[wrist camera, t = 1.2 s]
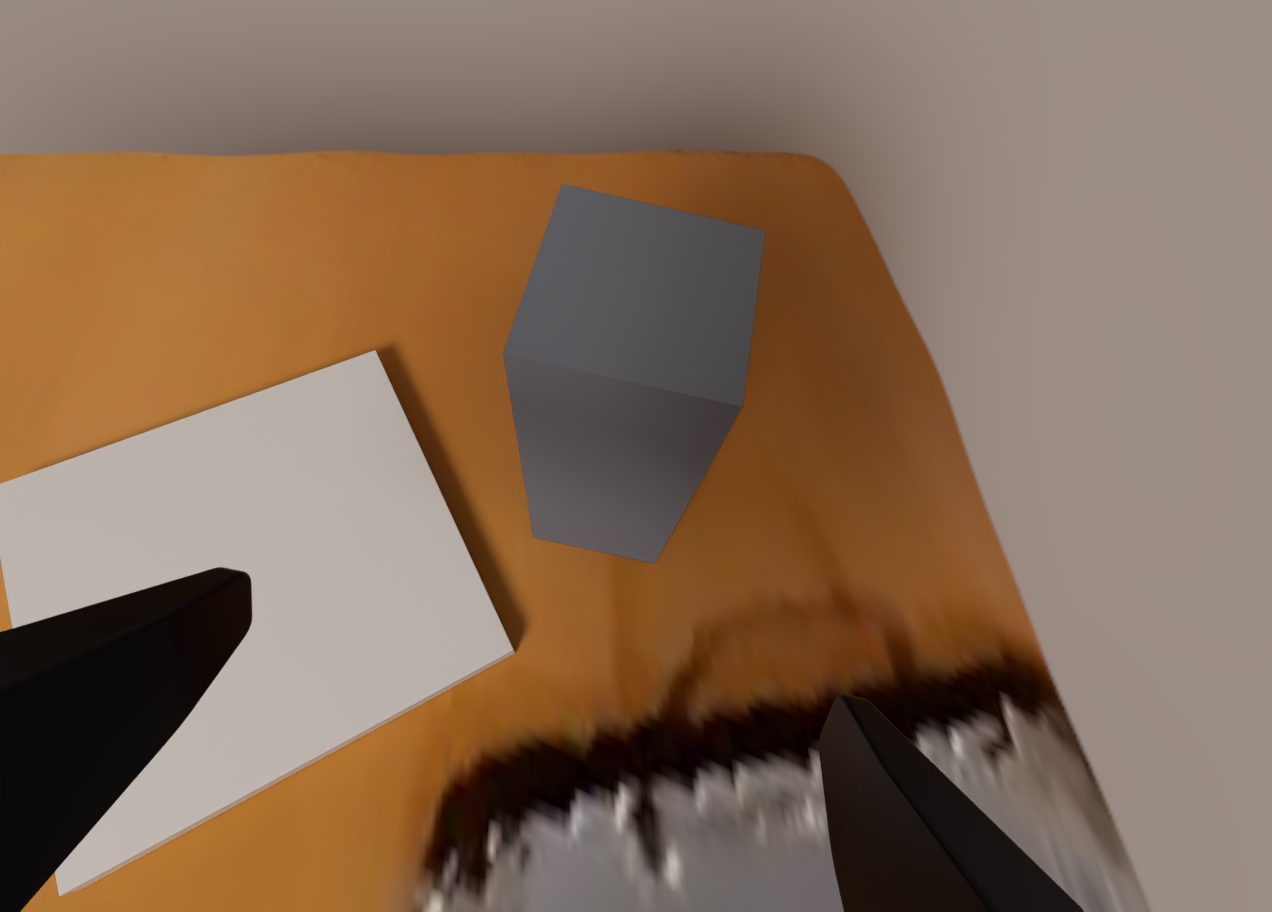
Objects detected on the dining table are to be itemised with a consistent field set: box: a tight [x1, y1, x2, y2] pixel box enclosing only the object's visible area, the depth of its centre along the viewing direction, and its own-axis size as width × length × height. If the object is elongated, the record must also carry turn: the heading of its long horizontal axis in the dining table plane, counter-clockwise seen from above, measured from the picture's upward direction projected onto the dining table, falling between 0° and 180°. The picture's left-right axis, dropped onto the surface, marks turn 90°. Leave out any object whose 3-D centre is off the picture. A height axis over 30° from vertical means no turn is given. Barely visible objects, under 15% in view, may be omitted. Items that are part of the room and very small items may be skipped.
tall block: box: [503, 184, 765, 564], centre depth 19 cm, size 5×5×13 cm
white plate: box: [0, 350, 515, 896], centre depth 22 cm, size 14×14×1 cm
